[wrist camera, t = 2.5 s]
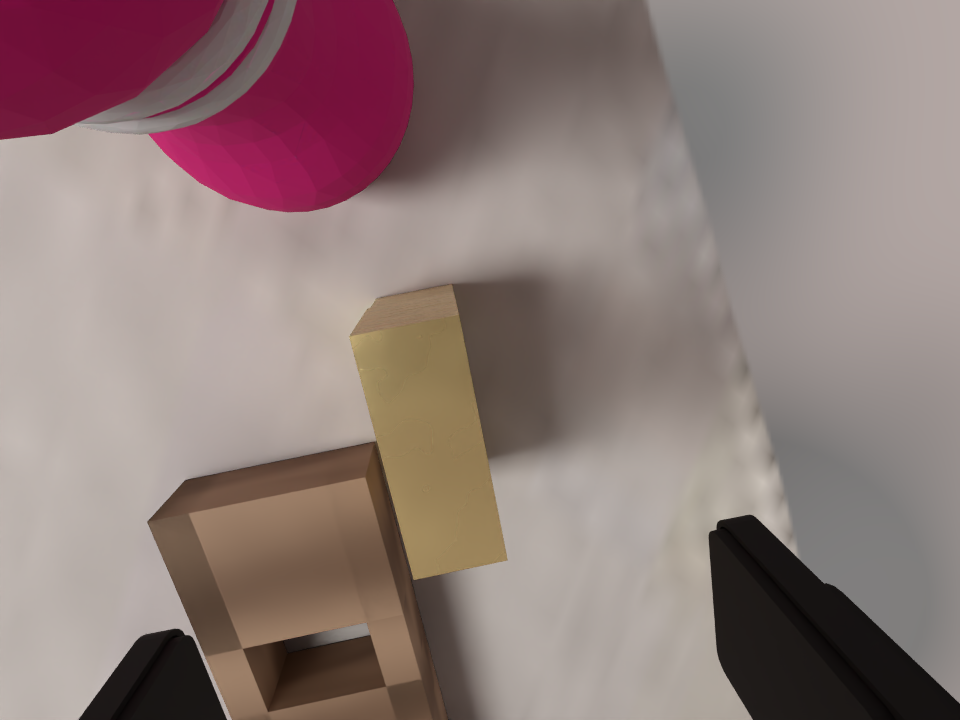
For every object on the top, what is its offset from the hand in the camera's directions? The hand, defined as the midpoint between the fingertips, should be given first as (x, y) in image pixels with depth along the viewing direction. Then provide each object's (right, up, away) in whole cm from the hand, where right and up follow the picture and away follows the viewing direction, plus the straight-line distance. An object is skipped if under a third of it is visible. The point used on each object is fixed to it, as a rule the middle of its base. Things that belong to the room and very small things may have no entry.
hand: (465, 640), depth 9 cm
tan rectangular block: (-2, +4, +12) cm, 13 cm away
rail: (-6, -10, +16) cm, 19 cm away
